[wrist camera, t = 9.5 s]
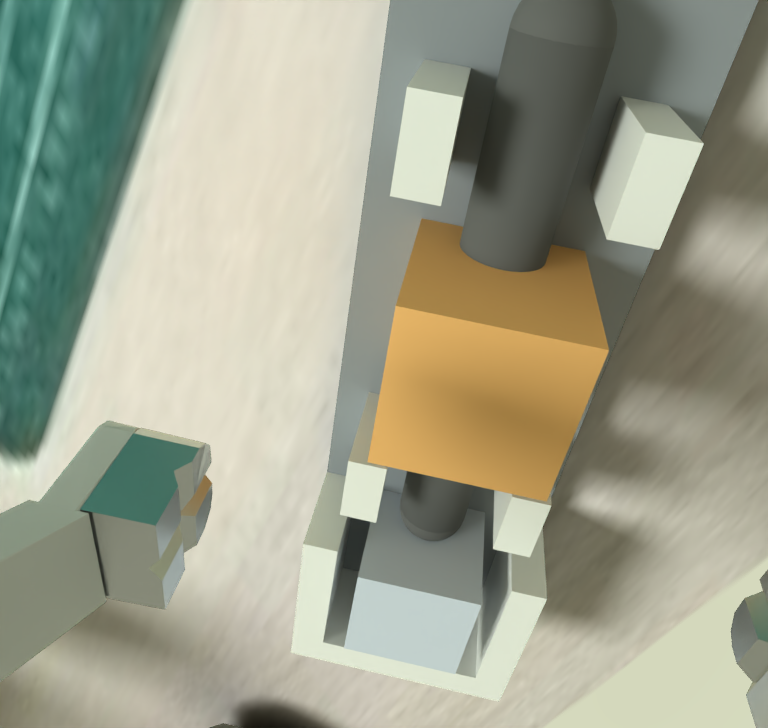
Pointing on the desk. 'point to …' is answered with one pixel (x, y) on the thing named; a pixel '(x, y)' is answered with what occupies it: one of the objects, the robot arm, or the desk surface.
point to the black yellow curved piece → (225, 726)
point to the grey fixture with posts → (449, 205)
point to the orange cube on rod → (486, 346)
